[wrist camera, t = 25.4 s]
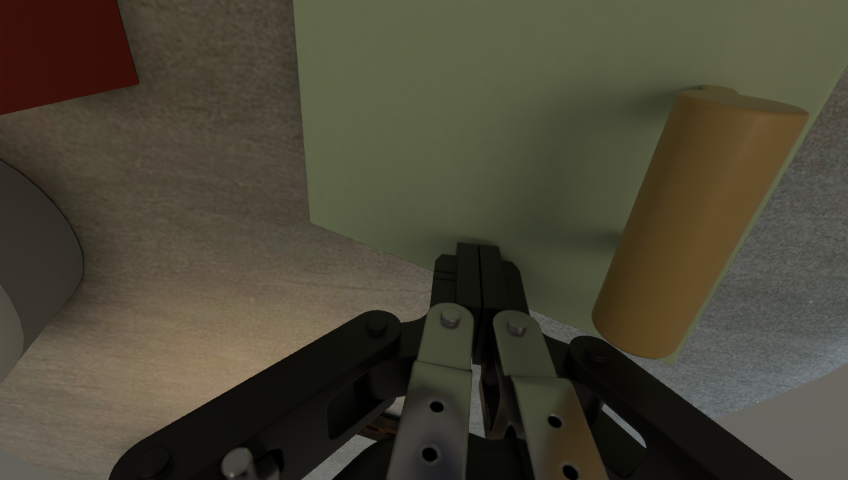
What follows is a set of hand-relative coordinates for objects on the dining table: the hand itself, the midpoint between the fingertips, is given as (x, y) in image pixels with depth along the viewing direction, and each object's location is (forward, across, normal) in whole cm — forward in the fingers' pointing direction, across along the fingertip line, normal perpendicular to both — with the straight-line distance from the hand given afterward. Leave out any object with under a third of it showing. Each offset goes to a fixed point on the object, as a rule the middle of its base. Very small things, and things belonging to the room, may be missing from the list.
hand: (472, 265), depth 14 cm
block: (+11, +22, -5) cm, 25 cm away
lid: (+1, 0, -5) cm, 5 cm away
